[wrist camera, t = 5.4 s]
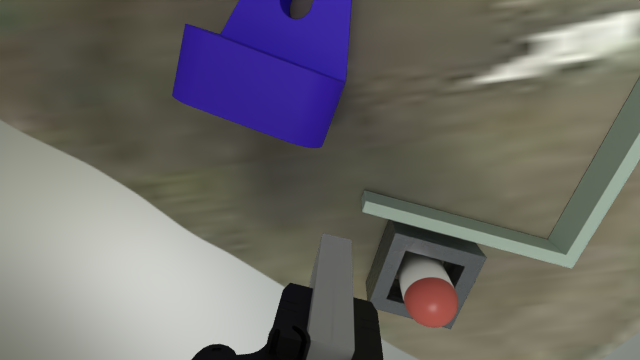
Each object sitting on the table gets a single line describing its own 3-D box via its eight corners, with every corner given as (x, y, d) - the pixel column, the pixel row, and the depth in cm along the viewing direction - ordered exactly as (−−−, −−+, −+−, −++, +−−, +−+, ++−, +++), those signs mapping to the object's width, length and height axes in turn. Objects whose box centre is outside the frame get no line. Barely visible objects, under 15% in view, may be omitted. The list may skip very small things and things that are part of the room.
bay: (489, -196, 23) (508, -234, 20) (770, -121, 23) (829, -148, 20) (361, 200, 33) (362, 211, 31) (553, 252, 33) (572, 268, 31)
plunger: (403, 241, 34) (419, 288, 26) (447, 252, 34) (475, 303, 26) (389, 277, 35) (400, 331, 28) (431, 288, 35) (453, 345, 28)
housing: (390, 215, 34) (395, 233, 30) (471, 237, 34) (486, 257, 30) (365, 282, 37) (367, 306, 33) (440, 302, 37) (450, 329, 33)
